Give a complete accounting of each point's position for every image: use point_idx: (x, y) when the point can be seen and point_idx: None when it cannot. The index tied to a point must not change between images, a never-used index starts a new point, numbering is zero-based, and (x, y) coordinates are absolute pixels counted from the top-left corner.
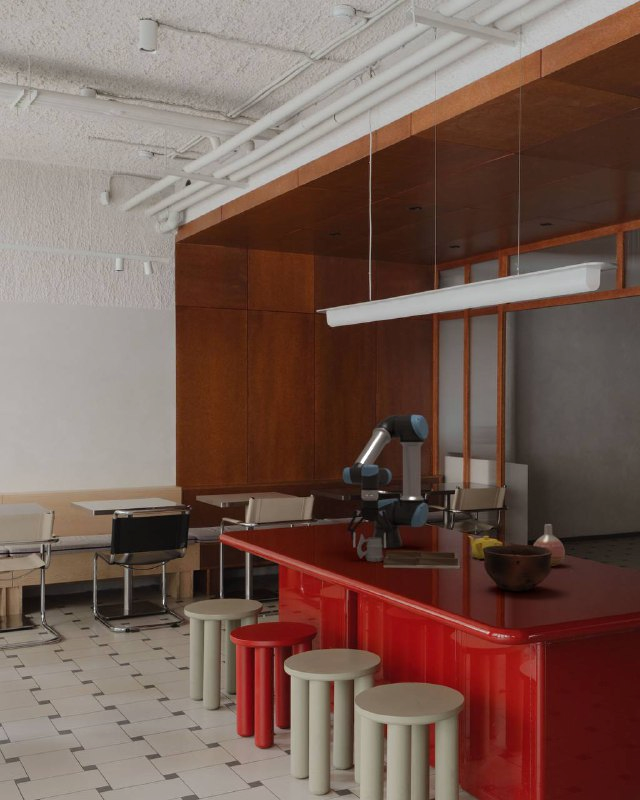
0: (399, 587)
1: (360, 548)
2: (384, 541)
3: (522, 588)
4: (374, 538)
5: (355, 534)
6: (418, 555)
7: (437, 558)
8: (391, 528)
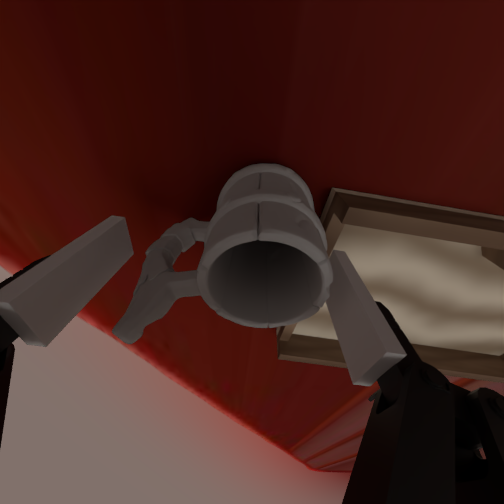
0: (271, 423)
1: (173, 261)
2: (333, 315)
3: None
4: (271, 237)
5: (46, 292)
6: (498, 261)
7: (458, 376)
8: (471, 463)
